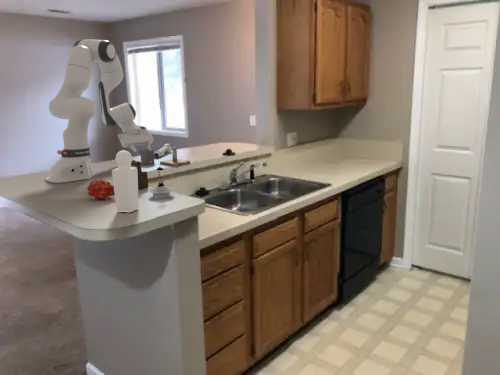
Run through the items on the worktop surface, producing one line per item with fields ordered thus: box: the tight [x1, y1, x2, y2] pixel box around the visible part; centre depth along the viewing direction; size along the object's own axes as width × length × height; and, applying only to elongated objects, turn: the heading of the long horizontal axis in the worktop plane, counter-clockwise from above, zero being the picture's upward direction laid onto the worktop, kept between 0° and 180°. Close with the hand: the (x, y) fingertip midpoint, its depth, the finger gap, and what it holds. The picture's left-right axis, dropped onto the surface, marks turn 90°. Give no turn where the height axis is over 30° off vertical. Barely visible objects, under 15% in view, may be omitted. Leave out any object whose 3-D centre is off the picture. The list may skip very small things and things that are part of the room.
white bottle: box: [111, 149, 140, 212], centre depth 153 cm, size 6×6×22 cm
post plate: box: [159, 146, 191, 168], centre depth 246 cm, size 12×12×10 cm
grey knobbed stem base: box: [148, 166, 175, 199], centre depth 174 cm, size 12×10×10 cm
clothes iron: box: [131, 159, 149, 190], centre depth 192 cm, size 8×16×13 cm, turn 44°
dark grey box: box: [139, 148, 155, 166], centre depth 246 cm, size 5×6×8 cm
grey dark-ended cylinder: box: [154, 143, 172, 159], centre depth 277 cm, size 5×7×25 cm
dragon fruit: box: [87, 179, 115, 200], centre depth 172 cm, size 8×8×12 cm
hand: (143, 150), depth 248 cm, fingers open, 8 cm apart
